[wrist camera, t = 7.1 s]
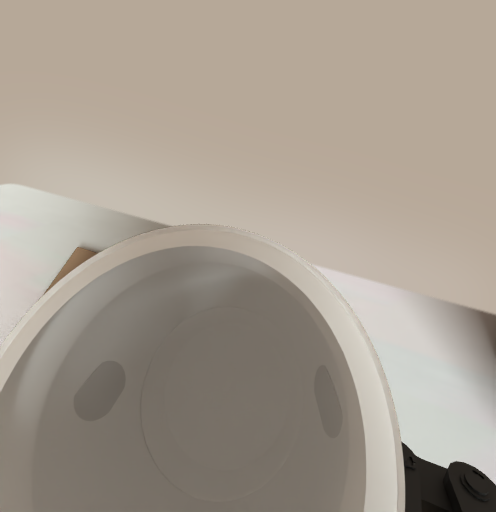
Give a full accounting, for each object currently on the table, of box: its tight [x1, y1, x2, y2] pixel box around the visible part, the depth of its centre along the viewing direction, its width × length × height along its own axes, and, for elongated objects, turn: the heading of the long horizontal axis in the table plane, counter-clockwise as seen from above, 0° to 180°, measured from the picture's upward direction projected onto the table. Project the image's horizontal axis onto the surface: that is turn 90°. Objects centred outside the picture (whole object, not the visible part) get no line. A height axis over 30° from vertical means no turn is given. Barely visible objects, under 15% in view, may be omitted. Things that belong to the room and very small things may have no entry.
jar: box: [0, 224, 405, 512], centre depth 12 cm, size 11×10×15 cm
